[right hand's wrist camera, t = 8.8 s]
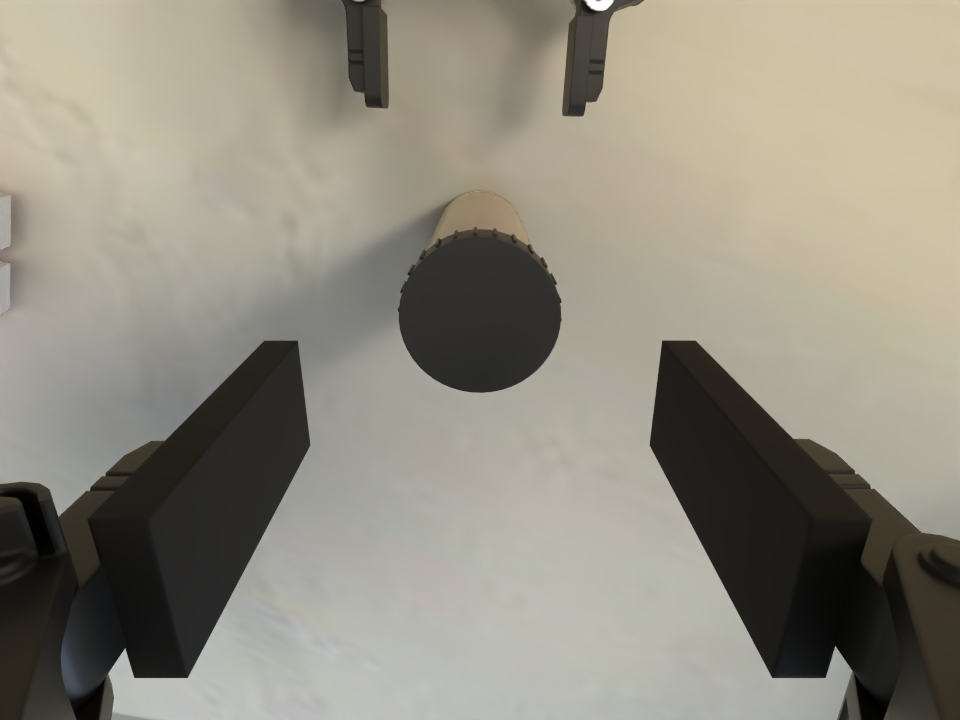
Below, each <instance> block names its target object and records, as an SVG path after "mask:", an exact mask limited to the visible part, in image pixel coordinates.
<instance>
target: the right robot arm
mask: <svg viewBox="0 0 960 720" xmlns="http://www.w3.org/2000/svg"><path fill="white" fill-rule="evenodd" d="M309 447H310V438H309V430H308V422H307V414H306V405H305V397H304V389H303V381H302V372H301V364H300V356H299V348H298V341H264V342H263V343H262V344H261V345H260V346H259V347H258V348H257V349H256V350H255V351H254V352H253V353H252V354H251V355H250V356H249V357H248V358H247V359H246V360H245V361H244V362H243V363H242V364H241V365H240V366H239V367H238V368H237V369H236V370H235V371H234V372H233V373H232V374H231V375H230V376H229V377H228V378H227V379H226V380H225V381H224V382H223V383H222V384H221V385H220V386H219V387H218V388H217V389H216V390H215V391H214V392H213V393H212V394H211V395H210V396H209V397H208V398H207V399H206V400H205V401H204V402H203V403H202V404H201V405H200V406H199V407H198V408H197V409H196V410H195V411H194V412H193V413H192V414H191V415H190V416H189V417H188V418H187V419H186V420H185V421H184V422H183V423H182V424H181V425H180V426H179V427H178V428H177V429H176V430H175V431H174V432H173V433H172V434H171V435H170V436H169V437H168V438H167V439H166V440H165V441H151V442H149V443H147V444H145V445H143V446H141V447H139V448H138V449H136V450H134V451H132V452H130V453H128V454H127V455H125V456H123V457H122V458H121V459H120V460H119V461H118V462H117V463H116V464H115V465H114V466H113V467H112V468H111V469H110V470H108V471H107V472H106V476H102V477H101V478H100V479H99V480H98V481H97V482H96V483H95V484H94V485H92V486H91V487H90V491H86V492H85V493H84V494H83V495H82V496H81V497H80V498H79V499H77V500H76V501H75V502H74V503H73V504H72V505H71V506H70V507H69V508H68V509H67V510H66V511H65V512H64V513H62V514H61V515H60V516H59V517H58V515H57V512H56V508H55V505H54V502H53V499H52V496H51V493H50V490H49V489H48V488H46V487H44V486H43V485H41V484H39V483H29V482H17V483H8V484H0V720H111V716H112V709H113V701H114V695H113V689H112V684H111V681H110V678H109V675H108V673H109V671H110V670H111V668H112V667H113V665H114V664H115V662H116V661H117V659H118V658H119V656H120V655H121V653H122V652H123V650H124V649H125V648H126V651H127V655H128V658H129V661H130V665H131V668H132V672H133V675H134V678H188V676H189V674H190V672H191V670H192V669H193V667H194V665H195V663H196V661H197V659H198V657H199V655H200V653H201V652H202V650H203V648H204V646H205V644H206V642H207V640H208V638H209V636H210V634H211V633H212V631H213V629H214V627H215V625H216V623H217V621H218V619H219V617H220V615H221V614H222V612H223V610H224V608H225V606H226V604H227V602H228V600H229V598H230V597H231V595H232V593H233V591H234V589H235V587H236V585H237V583H238V581H239V579H240V578H241V576H242V574H243V572H244V570H245V568H246V566H247V564H248V562H249V561H250V559H251V557H252V555H253V553H254V551H255V549H256V547H257V545H258V543H259V542H260V540H261V538H262V536H263V534H264V532H265V530H266V528H267V526H268V525H269V523H270V521H271V519H272V517H273V515H274V513H275V511H276V509H277V507H278V506H279V504H280V502H281V500H282V498H283V496H284V494H285V492H286V490H287V488H288V487H289V485H290V483H291V481H292V479H293V477H294V475H295V473H296V471H297V470H298V468H299V466H300V464H301V462H302V460H303V458H304V456H305V454H306V452H307V451H308V449H309ZM650 447H651V449H652V451H653V452H654V454H655V456H656V458H657V460H658V462H659V464H660V466H661V468H662V470H663V471H664V473H665V475H666V477H667V479H668V481H669V483H670V485H671V487H672V488H673V490H674V492H675V494H676V496H677V498H678V500H679V502H680V504H681V506H682V507H683V509H684V511H685V513H686V515H687V517H688V519H689V521H690V523H691V524H692V526H693V528H694V530H695V532H696V534H697V536H698V538H699V540H700V542H701V543H702V545H703V547H704V549H705V551H706V553H707V555H708V557H709V559H710V561H711V562H712V564H713V566H714V568H715V570H716V572H717V574H718V576H719V578H720V579H721V581H722V583H723V585H724V587H725V589H726V591H727V593H728V595H729V597H730V598H731V600H732V602H733V604H734V606H735V608H736V610H737V612H738V614H739V615H740V617H741V619H742V621H743V623H744V625H745V627H746V629H747V631H748V633H749V634H750V636H751V638H752V640H753V642H754V644H755V646H756V648H757V650H758V651H759V653H760V655H761V657H762V659H763V661H764V663H765V665H766V667H767V669H768V670H769V672H770V674H771V676H772V678H826V675H827V672H828V668H829V665H830V661H831V658H832V655H833V651H834V648H835V646H836V647H837V649H838V650H839V652H840V653H841V655H842V656H843V658H844V659H845V660H846V662H847V663H848V665H849V666H850V668H851V669H852V675H851V678H850V681H849V684H848V687H847V690H846V693H845V696H844V700H843V703H842V706H841V709H840V712H839V715H838V718H837V720H960V541H958V540H955V539H951V538H948V537H945V536H941V535H934V534H926V533H921V532H920V531H919V530H918V529H917V528H916V527H915V526H914V525H913V524H912V523H910V522H909V521H908V520H907V519H906V518H905V517H904V516H903V515H902V514H901V513H900V512H899V511H898V510H896V509H895V508H894V507H893V506H892V505H891V504H890V503H889V502H888V501H887V500H886V499H885V498H884V497H882V496H881V495H880V494H879V493H878V492H877V491H876V490H875V489H871V488H870V485H869V484H868V483H867V482H866V481H865V480H864V479H863V478H862V477H861V476H860V475H859V474H855V471H854V470H853V469H852V468H851V467H850V466H849V465H848V464H847V463H846V462H845V461H844V460H843V459H841V458H840V457H839V456H838V455H837V454H836V453H834V452H832V451H830V450H828V449H827V448H825V447H823V446H821V445H819V444H817V443H815V442H814V441H812V440H810V439H793V438H792V437H791V436H790V435H789V434H788V433H787V432H786V431H785V430H784V429H783V428H782V427H781V426H780V425H779V424H778V423H777V422H776V421H775V420H774V419H773V418H772V417H771V416H770V415H769V414H768V413H767V412H766V411H765V410H764V409H763V408H762V407H761V406H760V405H759V404H758V403H757V402H756V401H755V400H754V399H753V398H752V397H751V396H750V395H749V394H748V393H747V392H746V391H745V390H744V389H743V388H742V387H741V386H740V385H739V384H738V383H737V382H736V381H735V380H734V379H733V378H732V377H731V376H730V375H729V374H728V373H727V372H726V371H725V370H724V369H723V368H722V367H721V366H720V365H719V364H718V363H717V362H716V361H715V360H714V359H713V358H712V357H711V356H710V355H709V354H708V353H707V352H706V351H705V350H704V349H703V348H702V347H701V346H700V345H699V344H698V343H697V342H696V341H662V348H661V356H660V364H659V373H658V381H657V389H656V397H655V405H654V414H653V422H652V430H651V438H650Z"/></svg>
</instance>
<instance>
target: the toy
mask: <svg viewBox="0 0 960 720" xmlns="http://www.w3.org/2000/svg"><path fill="white" fill-rule="evenodd" d="M9 246H11V195H8V194H4V193H0V250H1V249H4V248H6V247H9ZM9 310H10V263H7V262H3V261H0V315H1V314H3V313H5V312H7V311H9Z"/></svg>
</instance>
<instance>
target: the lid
mask: <svg viewBox="0 0 960 720" xmlns="http://www.w3.org/2000/svg"><path fill="white" fill-rule="evenodd" d="M408 275H409V278H408V280H407V282H406V281H405V283H404V285H403V287H402V289H401V292H400V293H402V296H401V300H400V305H399V308H398V312H399V324H400V331H401V334H402V338H403V341H404V343H405V345H406V348H407V350H408V352H409V353H410V355H411V356H412V358H413V359H414V361H415V362H416V363H417V364H418V366H419V367H420V368H421V369H422V370H423V371H424V372H426V373H427V374H428V375H429V376H431V377H432V378H433V379H435V380H437V381H438V382H440V383H442V384H444V385H446V386H449V387H451V388H454V389H458V390H461V391H467V392H479V393H483V392H493V391H498V390H503V389H506V388H509V387H511V386H514V385H516V384H518V383H520V382H522V381H523V380H525V379H526V378H528V377H529V376H531V375H532V374H533V373H534V372H535V371H537V370H538V369H539V368H540V366H541V365H542V364H543V363H544V362H545V361H546V359H547V358H548V356H549V355H550V353H551V351H552V349H553V348H554V346H555V343H556V340H557V338H558V334H559V330H560V323H561V306H560V303H561V299H560V297H559V294H558V292H557V290H556V287H555V285H556V284H557V283H556V281H555V279H554V277H553V274H552V273H551V274H549V272H548V270H547V264H546V262H545V260H544V259H543V257H542V258H540V257H539V256H538V255H537V254H536V253H535V252H534V251H533V248H532V246H531V245H530V244H528V245H526V244H525V243H523V242H522V241H520V240H519V239H517V238H516V236H515V235H514V234H512V235H509V234H505V233H502V232H499V231H497V229H496V228H493V230H488V229H477V227H474V230H466V231H461V232H458V230H456V231H455V232H454V234H452V235H449V236H447V237H445V238H443V239H440V238H438V239H437V241H436V243H435V244H434V245H432V246H431V247H430V248H429V249H428V250H427V251H426V250H423V251H422V253H421V256H420V258H419V260H418V261H417V263H416V264H415V265H413V264H412V266H411V268H410V270H409V272H408Z"/></svg>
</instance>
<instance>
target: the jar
mask: <svg viewBox="0 0 960 720" xmlns="http://www.w3.org/2000/svg"><path fill="white" fill-rule="evenodd" d="M474 227H477V229H488V230H493V228H496V229H497V231H499V232H502V233H505V234H509V235H512V234H514V235H515V236H516V238H517V239H519V240H520V241H522V242H523V243H525V244H526V245H528V244H530V245H531V243H530V241H529V239H528V236H527V234H526V232H525V229H524V227H523V224H522V222H521V220H520V217H519V215H518V213H517V211H516V210H515V208H514V207H513V206H512V205H511V204H510V203H509V202H508V201H507V200H506V199H504V198H503V197H501V196H499V195H497V194H495V193H492V192H488V191H472V192H468V193H465V194H462V195H461V196H459V197H457V198H456V199H454V200H453V201H452V202H451V203H450V204H449V205H448V206H447V207H446V208H445V210H444V211H443V213H442V215H441V217H440V220H439V222H438V225H437V227H436V229H435V232H434V234H433V236H432V239H431V241H430V244H429V246H428V248H427V250H428V249H429V248H430V247H431V246H432V245H434V244H435V243H436V241H437V239H438V238H440V239H443V238H445V237H447V236H449V235H452V234H454V232H455V231H456V230H458V232H461V231H466V230H474Z"/></svg>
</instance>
